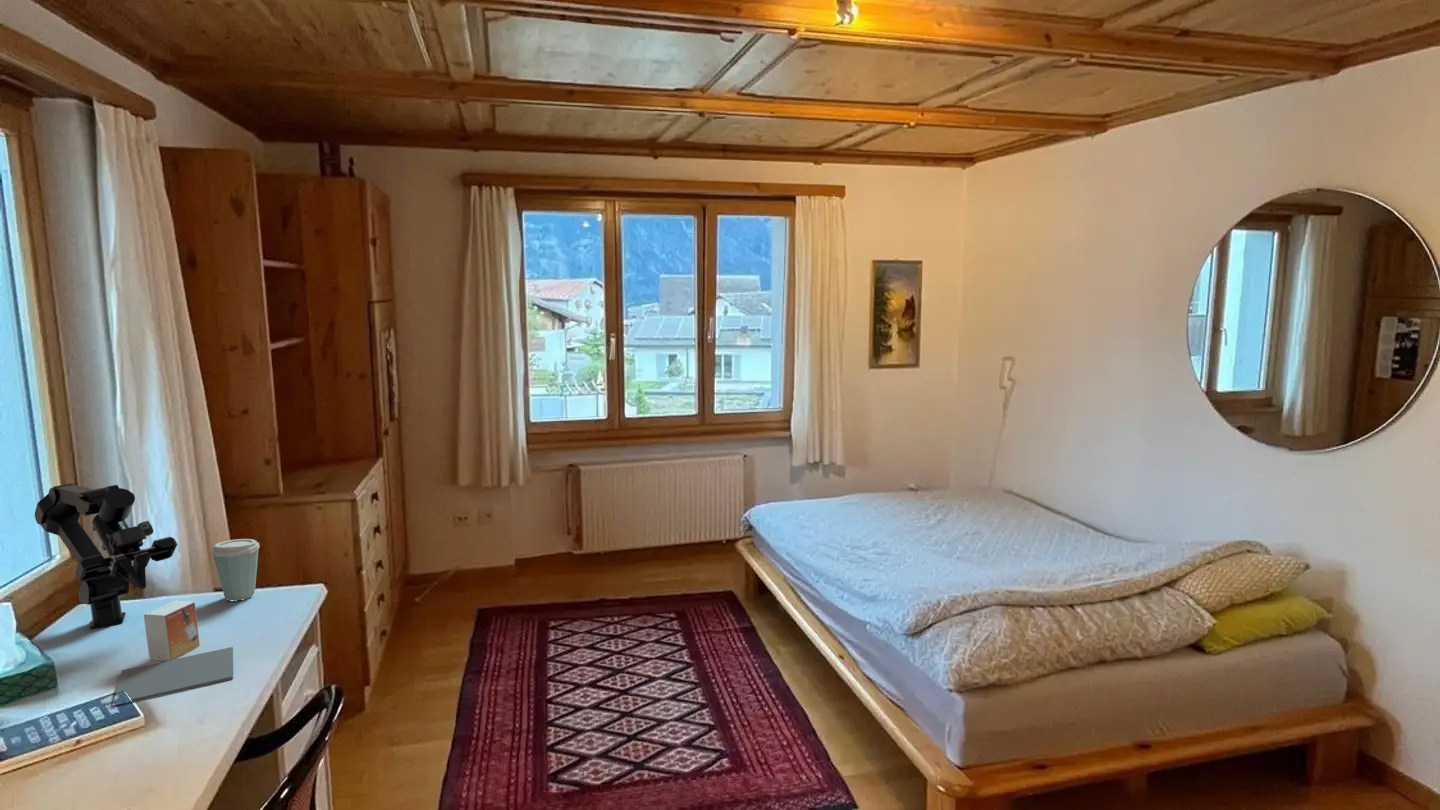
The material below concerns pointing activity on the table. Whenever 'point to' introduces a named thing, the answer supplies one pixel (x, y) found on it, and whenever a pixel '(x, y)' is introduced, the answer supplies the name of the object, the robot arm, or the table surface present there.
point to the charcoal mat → (177, 674)
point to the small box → (171, 630)
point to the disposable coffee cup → (237, 567)
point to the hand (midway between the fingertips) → (143, 588)
